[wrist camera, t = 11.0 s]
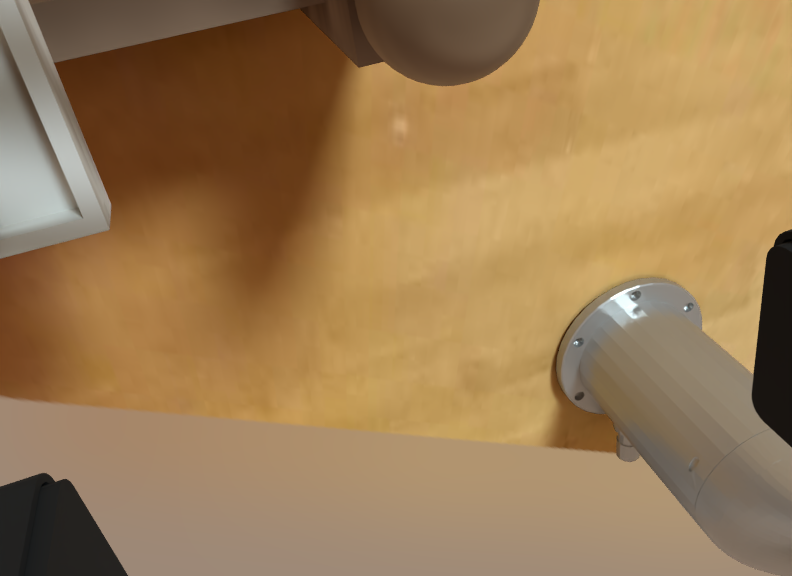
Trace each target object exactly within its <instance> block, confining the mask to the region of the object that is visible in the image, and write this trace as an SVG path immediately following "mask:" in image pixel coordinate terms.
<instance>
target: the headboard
mask: <svg viewBox="0 0 792 576" xmlns="http://www.w3.org/2000/svg"><path fill="white" fill-rule="evenodd" d="M539 1H540V0H0V259H1V258H5V257H8V256H12V255H16V254H20V253H24V252H27V251H31V250H35V249H39V248H43V247H46V246H50V245H54V244H58V243H62V242H65V241H69V240H73V239H77V238H81V237H84V236H88V235H92V234H96V233H100V232H103V231H107V230H110V217H111V203H110V200H109V198H108V195H107V193H106V191H105V188H104V186H103V183H102V181H101V178H100V176H99V173H98V171H97V168H96V166H95V163H94V161H93V158H92V156H91V154H90V151H89V149H88V146H87V144H86V141H85V139H84V136H83V134H82V131H81V129H80V126H79V124H78V121H77V119H76V117H75V114H74V112H73V109H72V107H71V104H70V102H69V99H68V97H67V94H66V92H65V89H64V87H63V84H62V82H61V80H60V77H59V75H58V72H57V70H56V67H55V65H54V63H56V62H60V61H65V60H69V59H73V58H78V57H82V56H87V55H91V54H96V53H100V52H105V51H109V50H114V49H118V48H123V47H127V46H132V45H136V44H141V43H145V42H150V41H154V40H159V39H163V38H168V37H172V36H177V35H181V34H186V33H190V32H195V31H199V30H204V29H208V28H213V27H217V26H222V25H226V24H231V23H235V22H240V21H244V20H249V19H253V18H258V17H262V16H267V15H271V14H276V13H280V12H285V11H289V10H294V9H298V8H300V9H301V10H302V11H303V12H304V13H305V14H306V15H307V16H308V17H309V18H310V19H311V20H312V21H313V22H314V23H315V24H316V25H317V26H318V27H319V28H320V29H321V30H322V31H323V32H324V33H325V34H326V35H327V36H328V37H329V38H330V39H331V40H332V41H333V42H334V43H335V44H336V45H337V46H338V47H339V48H340V49H341V50H342V51H343V52H344V53H345V54H346V55H347V56H348V57H349V58H350V59H351V60H352V61H353V62H354V63H355V64H356V65H357V66H358V67H364V66H368V65H372V64H376V63H380V62H385V63H387V64H388V65H389V66H390V67H392V68H393V69H394V70H396V71H397V72H399V73H401V74H402V75H404V76H406V77H407V78H410V79H412V80H415V81H417V82H421V83H425V84H429V85H437V86H454V85H460V84H465V83H469V82H473V81H476V80H478V79H481V78H483V77H485V76H487V75H489V74H490V73H492V72H493V71H495V70H497V69H498V68H499V67H500V66H502V65H503V64H504V63H505V62H507V61H508V60H509V59H510V58H511V57H512V56H513V55H514V54H515V53H516V51H517V50H518V49H519V47H520V46H521V45H522V43H523V42H524V40H525V39H526V37H527V35H528V33H529V31H530V29H531V27H532V25H533V23H534V20H535V17H536V14H537V10H538V6H539Z"/></svg>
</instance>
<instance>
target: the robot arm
mask: <svg viewBox="0 0 792 576" xmlns="http://www.w3.org/2000/svg"><path fill="white" fill-rule="evenodd" d="M556 372H557V379H558V382H559V384H560V387H561V389H562V391H563V392H564V393H565V394H566V396H567V397H568V399H569V400H570V401H571V402H572V403H573V404H575V405H576V406H577V407H579V408H581V409H583V410H585V411H587V412H591V413H595V414H607V415H608V417H609V418H610V419H611V420H612V421H613V427H614V429H615V431H616V432H618V435H617V445H616V453H617V456H618V457H619V459H622V460H623V461H628V462H632V461H635V460H637V459H638V458H639V456H640V455H641V456H642V458H643V459H644V460H645V461H646V462H647V464H648V465H649V466H650V467H651V469H652V470H653V471H654V472H655V473H656V475H657V476H658V477H659V478H660V479H661V480H662V482H663V483H664V484H665V485H666V487H667V488H668V489H669V490H670V491H671V493H672V494H673V495H674V496H675V497H676V499H677V500H678V501H679V502H680V504H681V505H682V506H683V507H684V508H685V510H686V511H687V512H688V513H689V514H690V516H692V518H693V519H694V520H695V522H696V523H697V524H698V525H699V526H700V528H701V529H702V530H703V531H704V532H705V533H706V535H707V536H708V537H709V538H710V539H711V541H712V542H713V543H714V544H715V545H716V546H717V547H718V548H719V549H721V550H722V551H723V552H724V553H726V554H727V555H728V556H730V557H732V558H733V559H735V560H737V561H738V562H740V563H742V564H745V565H747V566H749V567H752V568H754V569H757V570H761V571H764V572H768V573H771V574H775V575H780V576H792V229H791V230H788V231H785V232H783V233H782V234H780V235H779V236H778V237H777V239H776V240H775V243H774V247H772V248H771V249H770V250H769V252H768V254H767V258H766V266H765V275H764V285H763V294H762V303H761V312H760V321H759V330H758V339H757V348H756V357H755V367H754V375H753V374H752V373H751V372H750V371H749V370H748V369H746V368H745V367H744V366H743V365H742V364H741V363H739V362H738V361H737V360H736V359H735V358H734V357H732V356H731V355H730V354H729V353H728V352H727V351H725V350H724V349H723V348H722V347H721V346H720V345H718V344H717V343H716V342H715V341H714V340H713V339H711V338H710V337H709V336H708V335H707V334H706V333H704V332H703V331H702V315H701V311H700V307H699V305H698V303H697V302H696V300H695V298H694V297H693V296H692V295H691V294H690V293H689V292H688V291H687V290H685V289H684V288H683V287H681V286H680V285H678V284H677V283H675V282H673V281H670V280H667V279H662V278H654V277H653V278H642V279H637V280H633V281H629V282H626V283H623V284H621V285H619V286H617V287H614V288H612V289H610V290H609V291H607V292H606V293H604V294H602V295H601V296H599V297H598V298H597V299H595V300H594V301H593V302H592V303H591V304H589V305H588V306H587V307H586V308H585V309H584V310H583V311H582V312H581V313H580V314H579V316H578V317H577V318H576V319H575V320H574V322H573V323H572V325H571V326H570V328H569V329H568V330H567V332H566V334H565V336H564V338H563V340H562V343H561V345H560V348H559V352H558V355H557V363H556ZM0 576H128V575H127V573H126V572H125V570H124V568H123V567H122V565H121V563H120V562H119V560H118V558H117V557H116V555H115V554H114V552H113V550H112V549H111V547H110V545H109V544H108V542H107V540H106V539H105V537H104V535H103V534H102V532H101V530H100V529H99V527H98V525H97V524H96V522H95V521H94V519H93V517H92V516H91V514H90V512H89V511H88V509H87V507H86V506H85V504H84V502H83V501H82V499H81V498H80V496H79V494H78V492H77V491H76V489H75V488H74V486H73V485H72V483H71V482H70V481H69V480H67V479H63V480H60V481H57V482H55V481H54V480H53V478H52V477H51V476H50V475H48V474H46V473H41V474H38V475H35V476H32V477H29V478H26V479H23V480H20V481H16V482H14V483H10V484H7V485H4V486H1V487H0Z"/></svg>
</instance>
